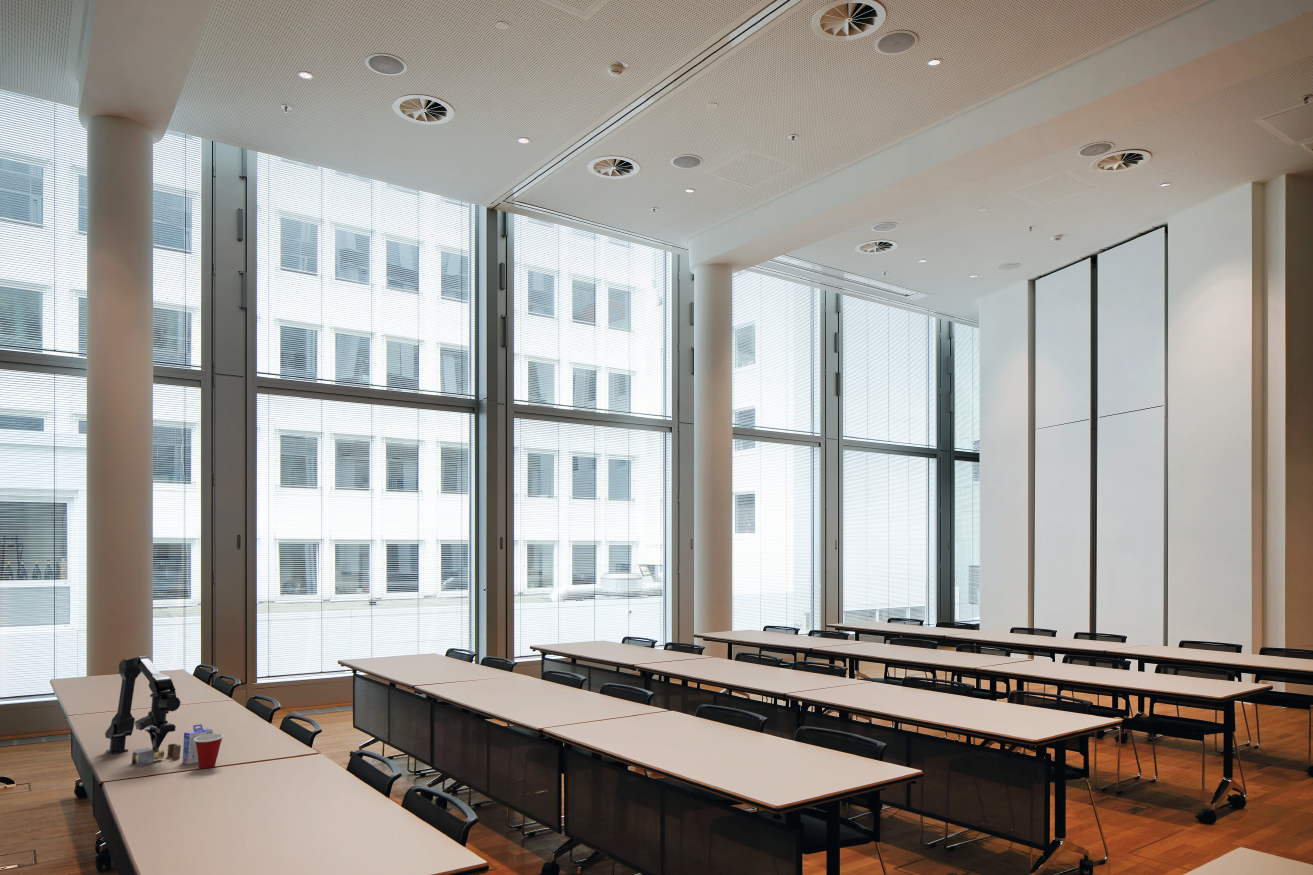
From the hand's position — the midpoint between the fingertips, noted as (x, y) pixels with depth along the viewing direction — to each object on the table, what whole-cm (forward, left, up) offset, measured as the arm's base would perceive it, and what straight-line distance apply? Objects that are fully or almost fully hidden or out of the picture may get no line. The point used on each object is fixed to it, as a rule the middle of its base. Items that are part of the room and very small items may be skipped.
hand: (155, 747), depth 349 cm
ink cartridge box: (+13, +11, -6) cm, 18 cm away
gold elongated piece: (0, -2, -6) cm, 6 cm away
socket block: (0, +8, -6) cm, 9 cm away
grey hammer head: (0, -5, -6) cm, 7 cm away
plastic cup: (+25, +9, -6) cm, 27 cm away
